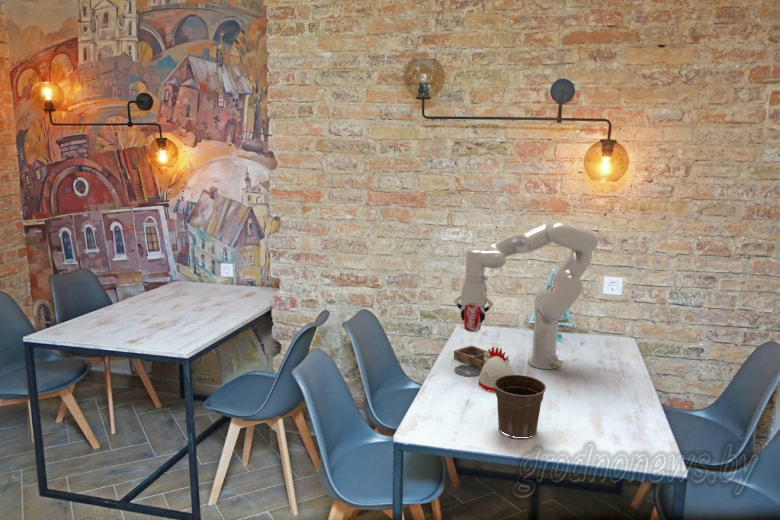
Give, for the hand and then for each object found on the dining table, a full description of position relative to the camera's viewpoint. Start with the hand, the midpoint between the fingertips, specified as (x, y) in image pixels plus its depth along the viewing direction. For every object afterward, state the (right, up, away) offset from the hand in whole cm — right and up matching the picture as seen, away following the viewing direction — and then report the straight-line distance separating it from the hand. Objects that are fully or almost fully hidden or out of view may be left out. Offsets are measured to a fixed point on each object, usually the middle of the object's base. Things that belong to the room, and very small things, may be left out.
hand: (472, 320), depth 249 cm
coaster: (-3, -20, -5) cm, 21 cm away
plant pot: (+7, -31, -53) cm, 62 cm away
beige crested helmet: (+7, -23, -17) cm, 30 cm away
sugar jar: (+7, -19, +1) cm, 20 cm away
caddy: (+4, -18, +4) cm, 19 cm away
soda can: (0, -4, +1) cm, 5 cm away
